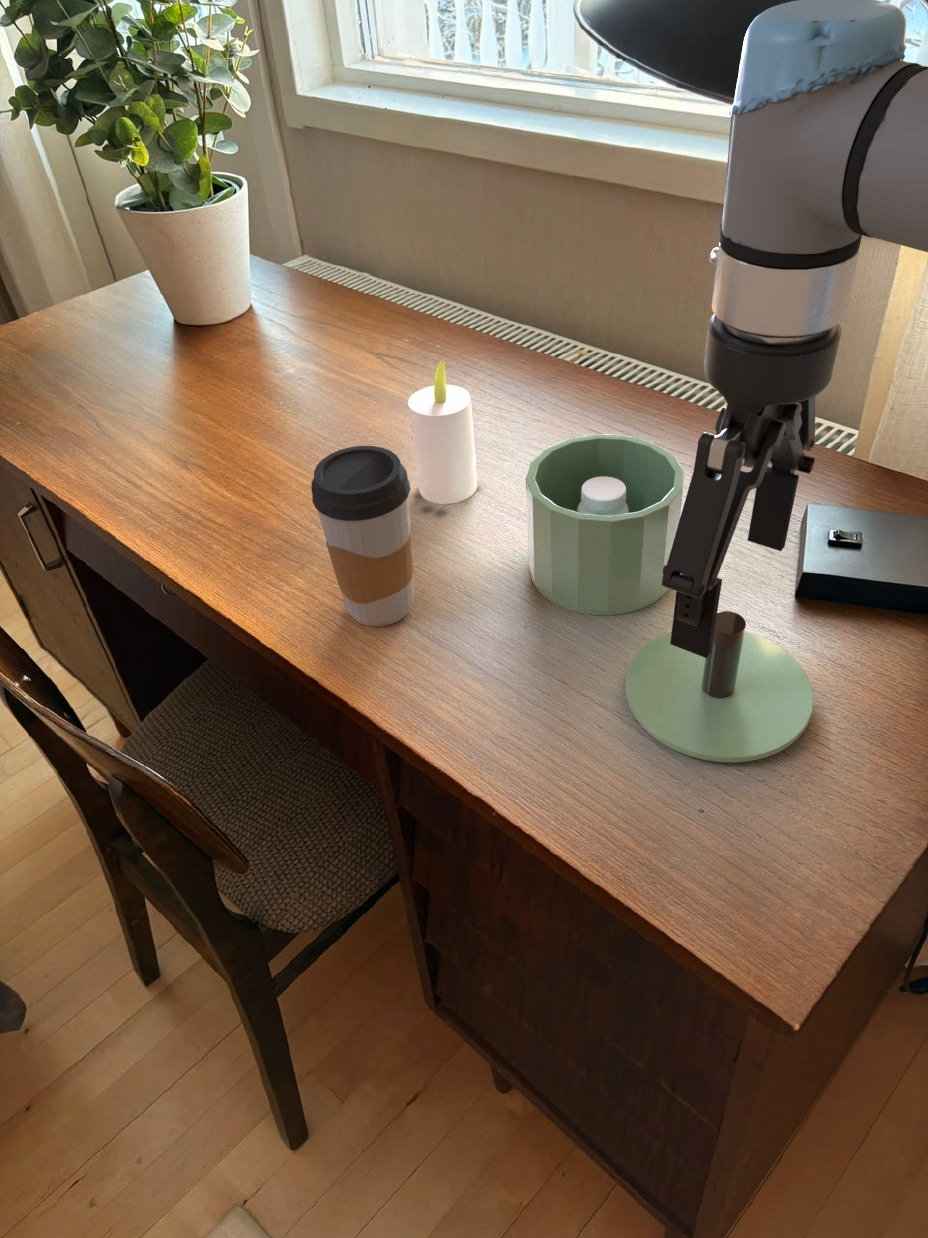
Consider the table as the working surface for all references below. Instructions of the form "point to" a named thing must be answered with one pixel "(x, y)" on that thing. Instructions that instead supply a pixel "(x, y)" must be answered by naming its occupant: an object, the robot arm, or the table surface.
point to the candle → (443, 441)
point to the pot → (602, 524)
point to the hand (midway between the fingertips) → (730, 593)
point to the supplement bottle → (603, 497)
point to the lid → (721, 695)
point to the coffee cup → (367, 531)
